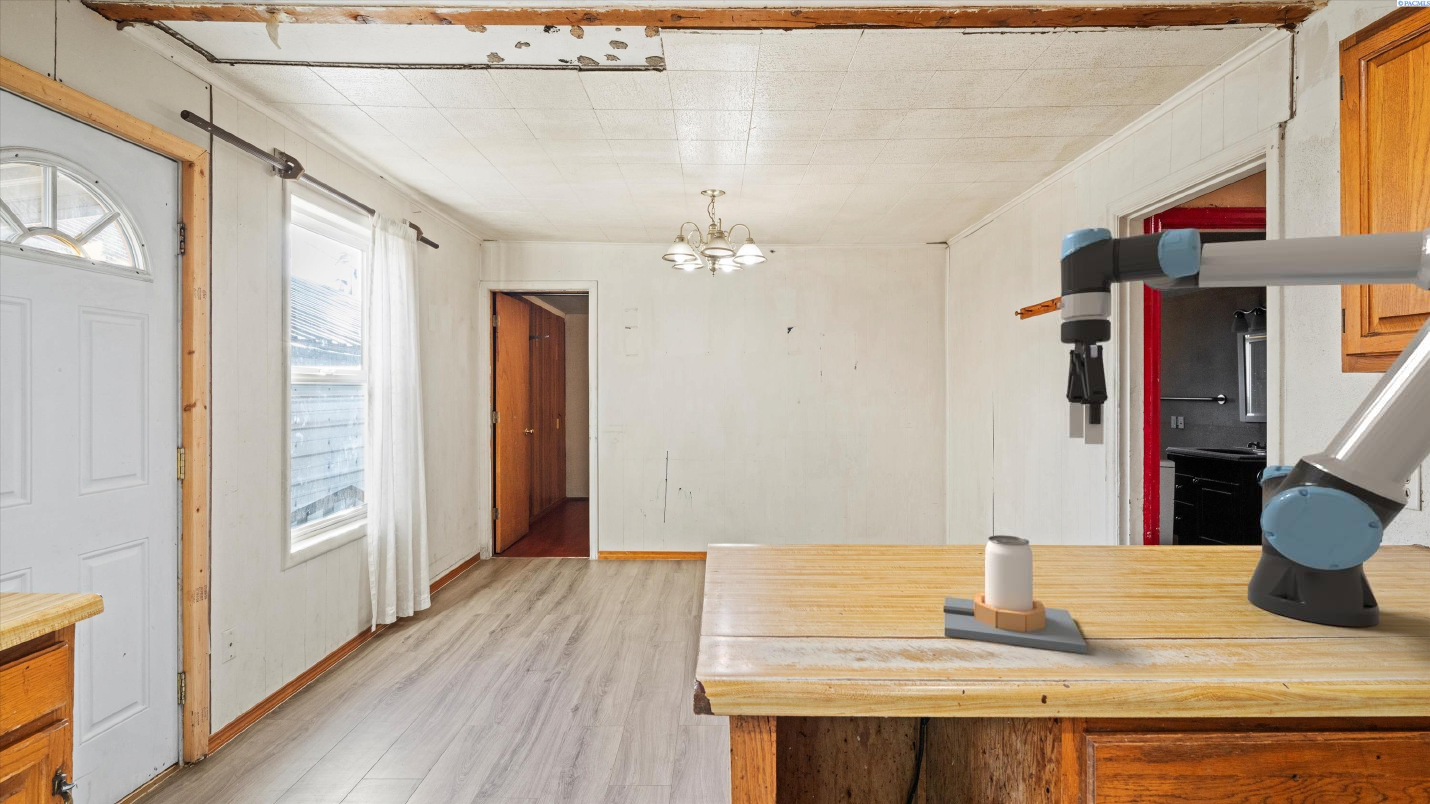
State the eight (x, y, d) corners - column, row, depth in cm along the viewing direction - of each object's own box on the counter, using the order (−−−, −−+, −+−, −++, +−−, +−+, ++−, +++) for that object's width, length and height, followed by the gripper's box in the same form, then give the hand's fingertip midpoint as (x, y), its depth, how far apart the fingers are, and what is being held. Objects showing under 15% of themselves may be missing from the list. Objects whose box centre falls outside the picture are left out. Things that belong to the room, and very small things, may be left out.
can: (1038, 627, 88) (1038, 546, 88) (990, 624, 90) (991, 544, 89) (1024, 611, 95) (1025, 535, 94) (980, 609, 96) (980, 533, 96)
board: (1067, 617, 95) (1067, 594, 95) (1086, 653, 82) (1086, 626, 82) (943, 603, 102) (943, 581, 102) (943, 635, 89) (943, 610, 89)
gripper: (1050, 327, 120) (1049, 435, 120) (1074, 313, 96) (1074, 446, 97) (1094, 325, 117) (1093, 435, 117) (1130, 310, 94) (1129, 447, 94)
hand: (1084, 440), depth 107 cm, fingers open, 13 cm apart
